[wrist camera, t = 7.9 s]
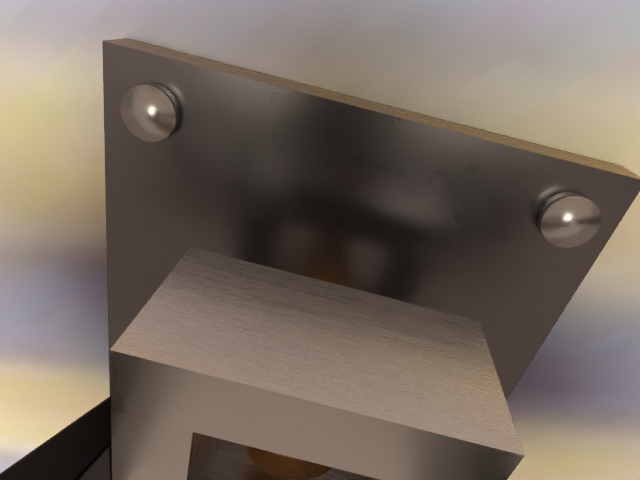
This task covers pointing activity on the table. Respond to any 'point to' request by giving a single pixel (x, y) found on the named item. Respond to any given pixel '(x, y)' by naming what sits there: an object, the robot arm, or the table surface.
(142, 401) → the socket
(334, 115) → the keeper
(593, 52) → the table surface
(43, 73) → the table surface
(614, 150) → the table surface
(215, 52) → the table surface
